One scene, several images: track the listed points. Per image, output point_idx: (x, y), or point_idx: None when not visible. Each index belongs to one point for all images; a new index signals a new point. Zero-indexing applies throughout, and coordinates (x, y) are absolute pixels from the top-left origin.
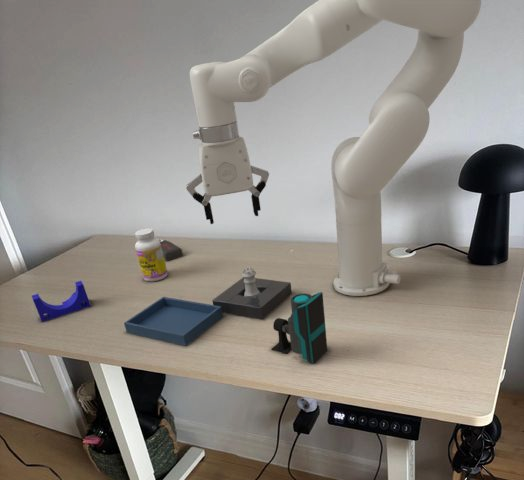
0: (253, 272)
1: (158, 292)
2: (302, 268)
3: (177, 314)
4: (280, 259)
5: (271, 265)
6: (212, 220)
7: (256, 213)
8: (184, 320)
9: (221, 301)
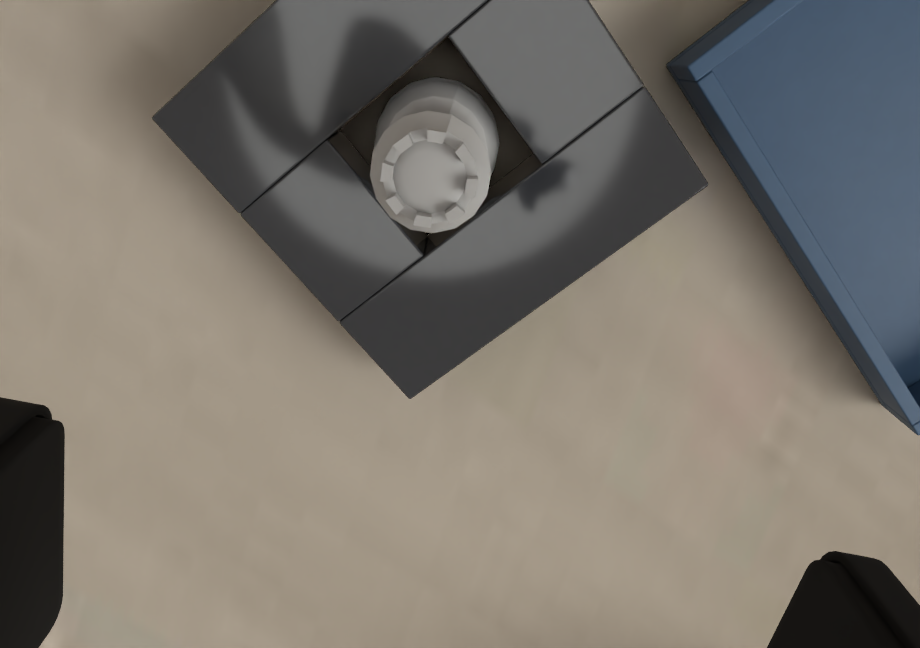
0: (396, 138)
1: None
2: None
3: (892, 242)
4: (135, 580)
5: (201, 540)
6: (860, 592)
7: (2, 420)
8: (895, 134)
9: (666, 123)
